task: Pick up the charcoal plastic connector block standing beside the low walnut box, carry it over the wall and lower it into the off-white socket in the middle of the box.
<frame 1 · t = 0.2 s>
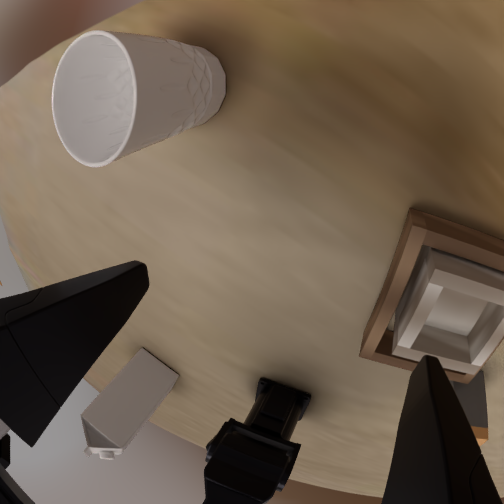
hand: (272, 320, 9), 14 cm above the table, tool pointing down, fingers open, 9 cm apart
white cup: (190, 86, 21), on the table
connector: (458, 380, 23), on the table
milk carton: (158, 368, 45), on the table
walled box: (446, 296, 20), on the table
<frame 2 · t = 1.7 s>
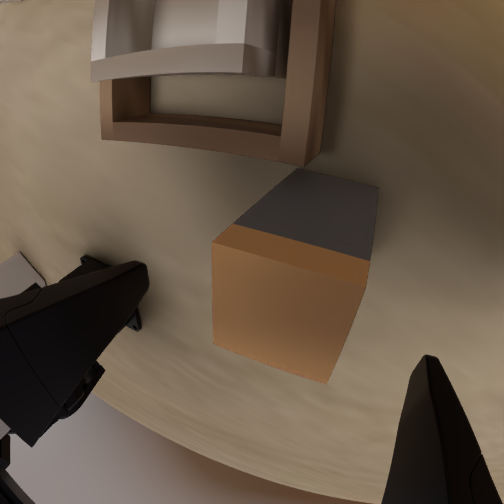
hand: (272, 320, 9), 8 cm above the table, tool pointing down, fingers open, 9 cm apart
connector: (330, 215, 15), on the table
milk carton: (35, 280, 36), on the table
walled box: (221, 25, 12), on the table
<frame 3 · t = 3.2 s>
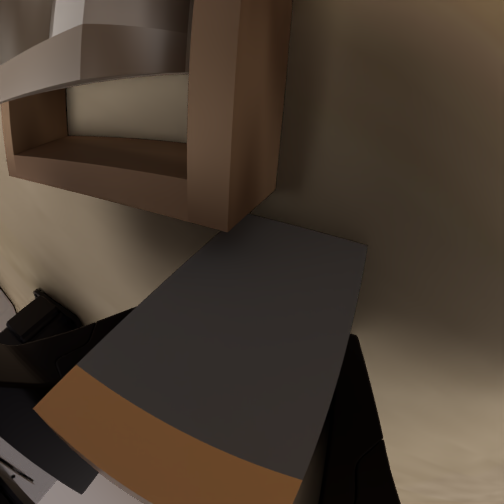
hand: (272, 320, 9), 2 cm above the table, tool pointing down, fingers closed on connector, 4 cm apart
connector: (293, 281, 10), on the table, touching gripper
milk carton: (7, 302, 32), on the table
walled box: (136, 8, 7), on the table
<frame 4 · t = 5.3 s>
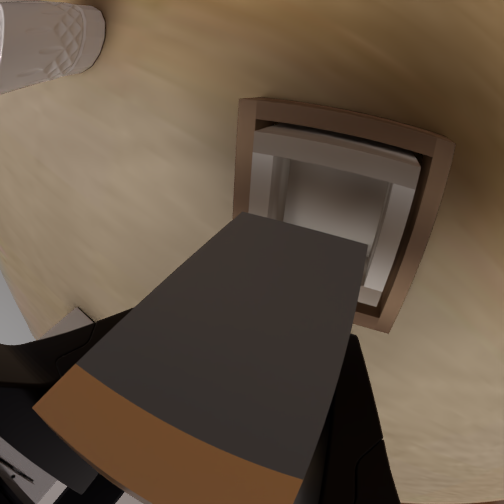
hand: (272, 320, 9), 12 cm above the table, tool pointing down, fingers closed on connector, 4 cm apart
white cup: (85, 39, 19), on the table
connector: (294, 280, 10), point 10 cm above the table, touching gripper
milk carton: (94, 331, 43), on the table
walled box: (335, 206, 18), on the table
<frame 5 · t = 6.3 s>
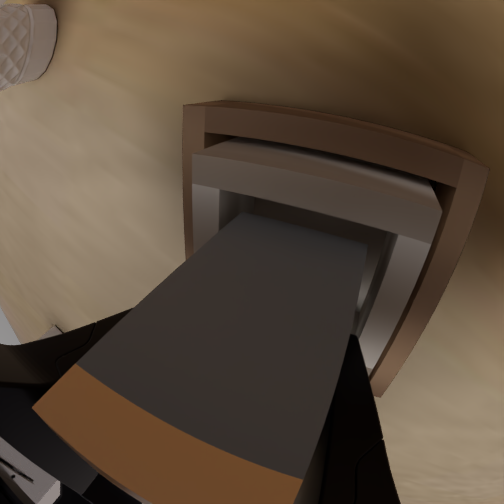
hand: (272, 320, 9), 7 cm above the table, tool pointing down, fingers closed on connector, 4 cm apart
white cup: (40, 41, 15), on the table
connector: (293, 280, 10), point 5 cm above the table, touching gripper
walled box: (319, 243, 14), on the table
when the fingers open (6 cm above the table, at t = 7.2 s): connector drops 2 cm, resting on walled box.
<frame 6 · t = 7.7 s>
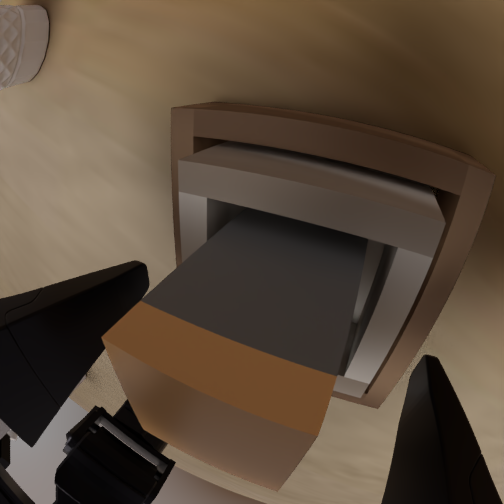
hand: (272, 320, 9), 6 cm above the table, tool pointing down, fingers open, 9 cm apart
white cup: (32, 43, 15), on the table
connector: (307, 252, 12), point 2 cm above the table, touching walled box
walled box: (316, 250, 14), on the table
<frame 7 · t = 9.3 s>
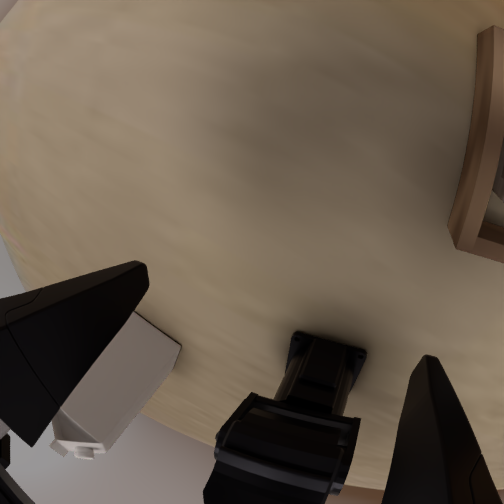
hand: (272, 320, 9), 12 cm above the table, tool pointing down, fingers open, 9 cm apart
milk carton: (154, 341, 36), on the table
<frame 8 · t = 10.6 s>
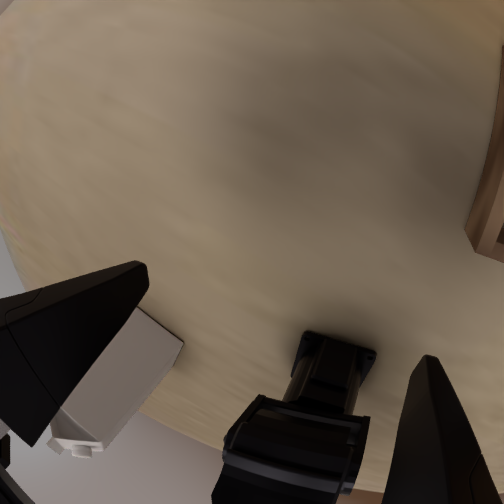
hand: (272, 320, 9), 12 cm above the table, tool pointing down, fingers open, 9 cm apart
milk carton: (155, 336, 35), on the table
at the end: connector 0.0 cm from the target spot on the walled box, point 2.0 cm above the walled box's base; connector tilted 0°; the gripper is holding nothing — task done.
